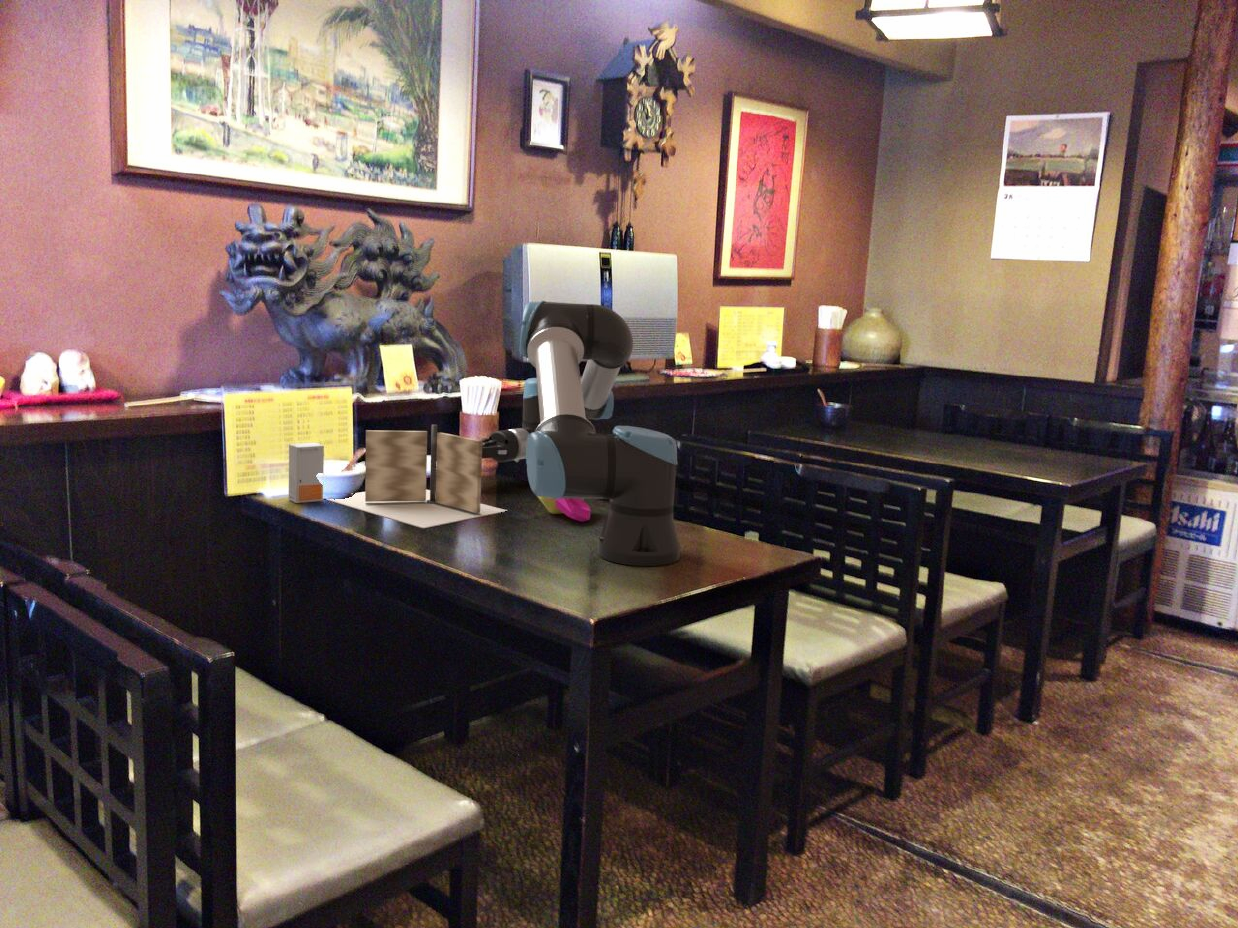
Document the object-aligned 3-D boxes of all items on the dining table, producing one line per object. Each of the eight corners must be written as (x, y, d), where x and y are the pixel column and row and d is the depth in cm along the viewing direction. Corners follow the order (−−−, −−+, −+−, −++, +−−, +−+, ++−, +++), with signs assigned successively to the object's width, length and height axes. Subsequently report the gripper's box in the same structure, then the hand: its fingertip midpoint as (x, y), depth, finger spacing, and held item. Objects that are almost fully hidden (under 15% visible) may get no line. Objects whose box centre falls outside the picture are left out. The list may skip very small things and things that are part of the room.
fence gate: (425, 500, 215) (426, 431, 212) (425, 501, 214) (427, 431, 211) (365, 500, 211) (366, 430, 208) (365, 501, 210) (366, 431, 207)
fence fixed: (482, 514, 207) (485, 433, 204) (473, 516, 205) (476, 434, 202) (433, 501, 216) (435, 423, 213) (423, 503, 214) (425, 424, 211)
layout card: (507, 511, 211) (507, 509, 211) (423, 528, 194) (423, 527, 193) (408, 485, 231) (408, 484, 231) (323, 499, 213) (323, 497, 213)
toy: (547, 529, 202) (574, 487, 200) (518, 486, 216) (542, 446, 214) (585, 543, 208) (612, 503, 206) (554, 500, 222) (578, 462, 220)
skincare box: (296, 504, 207) (296, 447, 205) (288, 500, 210) (288, 443, 208) (324, 501, 211) (324, 445, 209) (315, 497, 214) (316, 442, 212)
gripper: (528, 464, 237) (453, 476, 219) (489, 456, 245) (414, 466, 227) (529, 433, 236) (454, 442, 218) (490, 426, 244) (415, 434, 225)
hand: (434, 454), depth 222 cm, fingers closed
